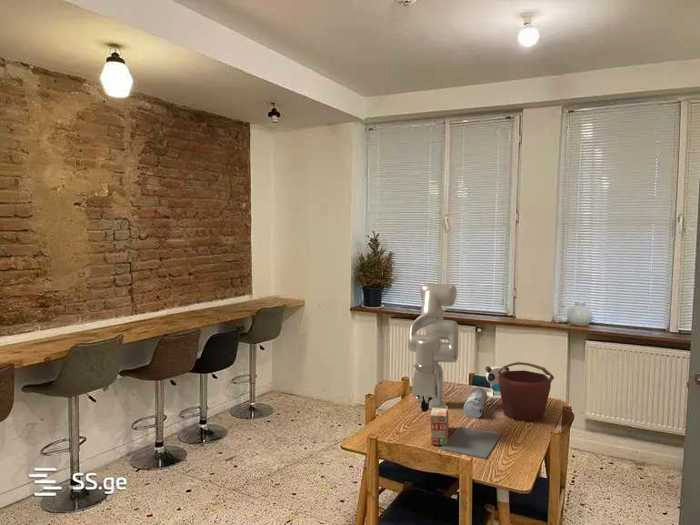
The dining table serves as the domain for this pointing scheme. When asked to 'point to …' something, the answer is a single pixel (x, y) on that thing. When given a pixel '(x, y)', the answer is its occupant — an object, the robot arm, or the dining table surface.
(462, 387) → the dining table surface
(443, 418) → the stack of blocks
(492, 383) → the panda figurine
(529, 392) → the bucket
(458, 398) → the dining table surface
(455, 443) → the rubber mat
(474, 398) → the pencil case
